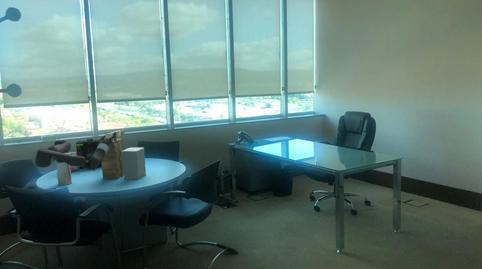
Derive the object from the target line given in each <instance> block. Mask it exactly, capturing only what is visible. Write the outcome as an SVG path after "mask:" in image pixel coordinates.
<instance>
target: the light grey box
mask: <svg viewBox="0 0 482 269" xmlns="http://www.w3.org/2000/svg"><path fill="white" fill-rule="evenodd" d="M145 156H146V155H145V147H128V148H126V149H123V151H122V159H123V172H124V176H123V179H124V180H140V179H142V178H143V177H145V176H147V171H146V170H147V169H146V158H145Z"/></svg>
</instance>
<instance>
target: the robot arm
mask: <svg viewBox="0 0 482 269" xmlns="http://www.w3.org/2000/svg"><path fill="white" fill-rule="evenodd" d="M113 132H114V134H113V135H112V136H111V137H110V138H106V134H104V135H103V136H101V137H100V138H99V140H100V144H99V146H98V147H97V149H96V151H95V152H94V154H93V155H92V157H91V158H90V160H89V161H87V160H86V159H85V157H82V156H74V155H68V154H64V153H70V150H71V149H72V145H71V142H70V141H69V140H66V139H65V140H63V139H61V140H55V141H54V143H53V145H51V146H49V147H48V148H47V149H45V148H40V149H38V150H37V151H36V155H35V160H34V164H35V166H37V167H38V168H47V167H49V166H51V164H52V163H53V162H54V161H56V169H57V171H56V178H57V186H66V185H69V184H72V183H73V179H72V172H71V167H70V165H71V166H78V168H79V167H83V168H86V170H89V171H94V170H96V169H97V168H99V167H98V165H99V163H100V162H101V160H102V158H103V157H104V156H105V154H106V153H107V151H108V150H109V148H110V147H111V144H112V143H113V142H115V143H116V142H117V139H118V136H117V137H116V132H115V131H113ZM108 133H111V131H109V132H108Z"/></svg>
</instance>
